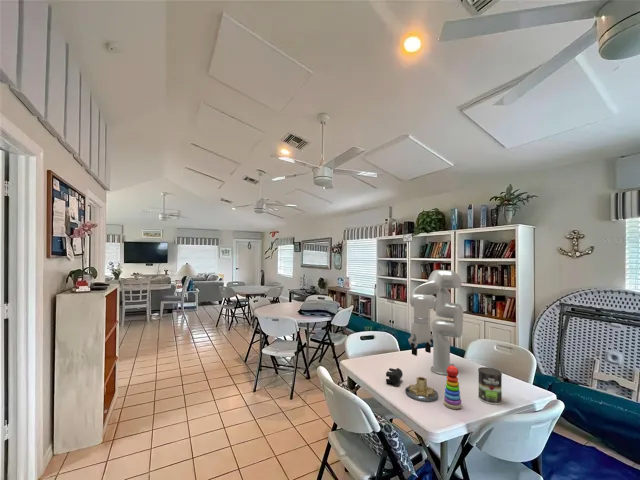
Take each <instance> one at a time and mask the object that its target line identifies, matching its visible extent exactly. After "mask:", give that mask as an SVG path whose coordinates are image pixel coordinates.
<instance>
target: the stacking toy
mask: <svg viewBox="0 0 640 480" xmlns="http://www.w3.org/2000/svg"><path fill="white" fill-rule="evenodd" d="M458 369H459V368H457V367H456V365H455V366H448V367H447V374H448V375H446V381H445V382H446V384H445V388H444V392H443V393H444V399H443V404H444V406H445V407H447V408H449V409H451V410H460V409H461V408H462V405H463V404H462V399H461V392H460V383H459V378H458V375H459V370H458Z"/></svg>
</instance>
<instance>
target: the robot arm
mask: <svg viewBox="0 0 640 480" xmlns="http://www.w3.org/2000/svg"><path fill="white" fill-rule="evenodd" d="M461 285H462V278H461V276H460V275H459V274H458V273H457V272H456V271H454V270H451V269H450V270H449V269H447V270H445V269H436V270H433V271H432V272H431V273H430V275H429V277H428V279H427V281H426V282H425V283H424V282H423V283H422V284H419V285H418V286H416V287H415V288H414V289H413V291H412V292H411V294H410V297H409V304H410V305H411V306H412V307H413V322H412V325H411V330H410V337H409V338H408V339H407V340H408V344H409V345H410V347H411V355H413V356H415V357H417V356H418V348H417V347H418V345H420V344H424V351H425V353H429V354H431V352H433V355H432V356H433V357H432V358H433V360H432V361H433V363H432V365H433V366H430V370H431V372H432V373H435V374H436V375H441V376H447V375H448V374H447V367H448V366H455V367H456V365H455V363H452V362H451V359H450V358H451V356H450V355H451V350H450V349H451V342H450V340H449V339H448V337H449V338H456V339H459V338H461V337H462V335H463V330H464V329H463V326H464V323H463V322H464V309H463V306H462V305H461V304H459V303H456V302H454V303H453V302H452V299H451V298H452V294H451V293H450V291H449V290H448V289H459V288H460V287H461ZM435 294H436V296H434V295H435ZM434 309H435V314H436V316H437V317H439V319H438V318H436V319H434V320H433V321H432V322H431V326H430V310H434ZM442 318H445V319H442ZM447 319H452V320H447ZM431 330H432V331H431ZM431 332H432V333H431ZM432 345H433V346H432ZM432 347H433V348H432ZM431 349H433V350H432V351H431Z"/></svg>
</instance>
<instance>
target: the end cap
mask: <svg viewBox="0 0 640 480" xmlns="http://www.w3.org/2000/svg"><path fill="white" fill-rule="evenodd" d="M403 374H404V373H403V371H402V369H401V368H399V367H397V368H391V367H390V368H389V369H388V371H386V372H385V377H387V378H385V381H386V385H387V386H393V387H394V386H397V385H398V384H399V383H400V381H401V379H402V377H403Z"/></svg>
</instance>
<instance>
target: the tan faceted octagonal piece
mask: <svg viewBox="0 0 640 480" xmlns="http://www.w3.org/2000/svg"><path fill="white" fill-rule="evenodd" d="M415 382H416V383H415V384H412V385H411V384H409V385H408V386H409V392H410V393H413V394H414V395H416V396H417V397H418V396H420V397H426V398H428V397H430V396H435V392H434V390H435V388H434V387H431V386H429V385H428V379H427V378H426V377H423V376H422V377H421V376H418V377H416V381H415Z"/></svg>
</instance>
